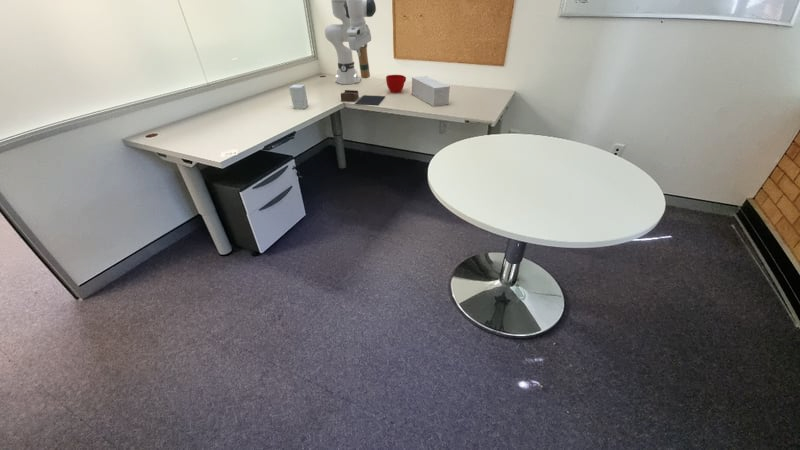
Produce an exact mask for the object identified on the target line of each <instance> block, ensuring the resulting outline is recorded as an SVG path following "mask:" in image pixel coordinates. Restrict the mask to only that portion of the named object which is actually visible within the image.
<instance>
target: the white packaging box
mask: <svg viewBox="0 0 800 450" xmlns="http://www.w3.org/2000/svg"><path fill="white" fill-rule="evenodd" d="M289 92H290V93H289V94H290V97H291V102H292V107H293V109H294V110H305V109H307V107H309V102H308V95H307V90H306V84H292V85H290V87H289Z"/></svg>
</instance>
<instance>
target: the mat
mask: <svg viewBox="0 0 800 450" xmlns="http://www.w3.org/2000/svg"><path fill="white" fill-rule="evenodd" d="M385 97H386V96H385V95H362V96H361V97H359V98H358V99H357V100H356V101H355V102H354V105H361V106H363V105H364V106H379V105H380V103H382V101H383V100H384V99H385Z"/></svg>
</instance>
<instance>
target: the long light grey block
mask: <svg viewBox="0 0 800 450" xmlns="http://www.w3.org/2000/svg"><path fill="white" fill-rule="evenodd" d="M450 91H451V87H450V85H448V84H446V83H444V82H441V81H438V80H436V79H434V78H432V77H429V76H428V75H424V76H423V75H422V76H413V77H411V95H412V96H414V97H416V98H418V99H420V100H422V101H423V102H425V103H426V104H429V105H431V106H432V107H438V106H445V105H449V101H450Z"/></svg>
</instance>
